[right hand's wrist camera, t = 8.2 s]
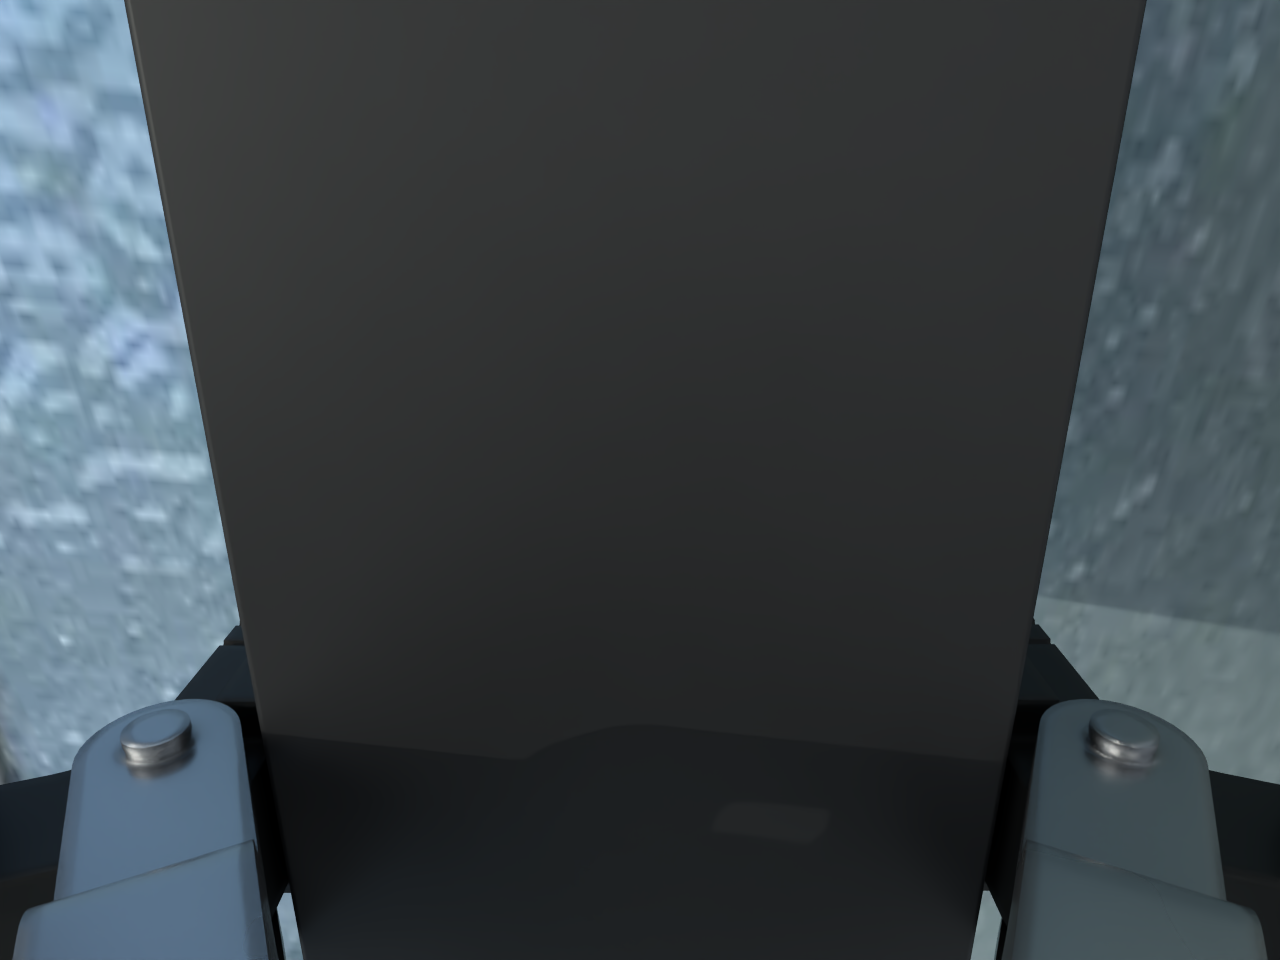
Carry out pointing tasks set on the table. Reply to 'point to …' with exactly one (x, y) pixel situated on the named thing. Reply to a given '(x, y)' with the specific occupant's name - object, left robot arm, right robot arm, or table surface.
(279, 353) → the box
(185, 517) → the table surface
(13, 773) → the table surface
